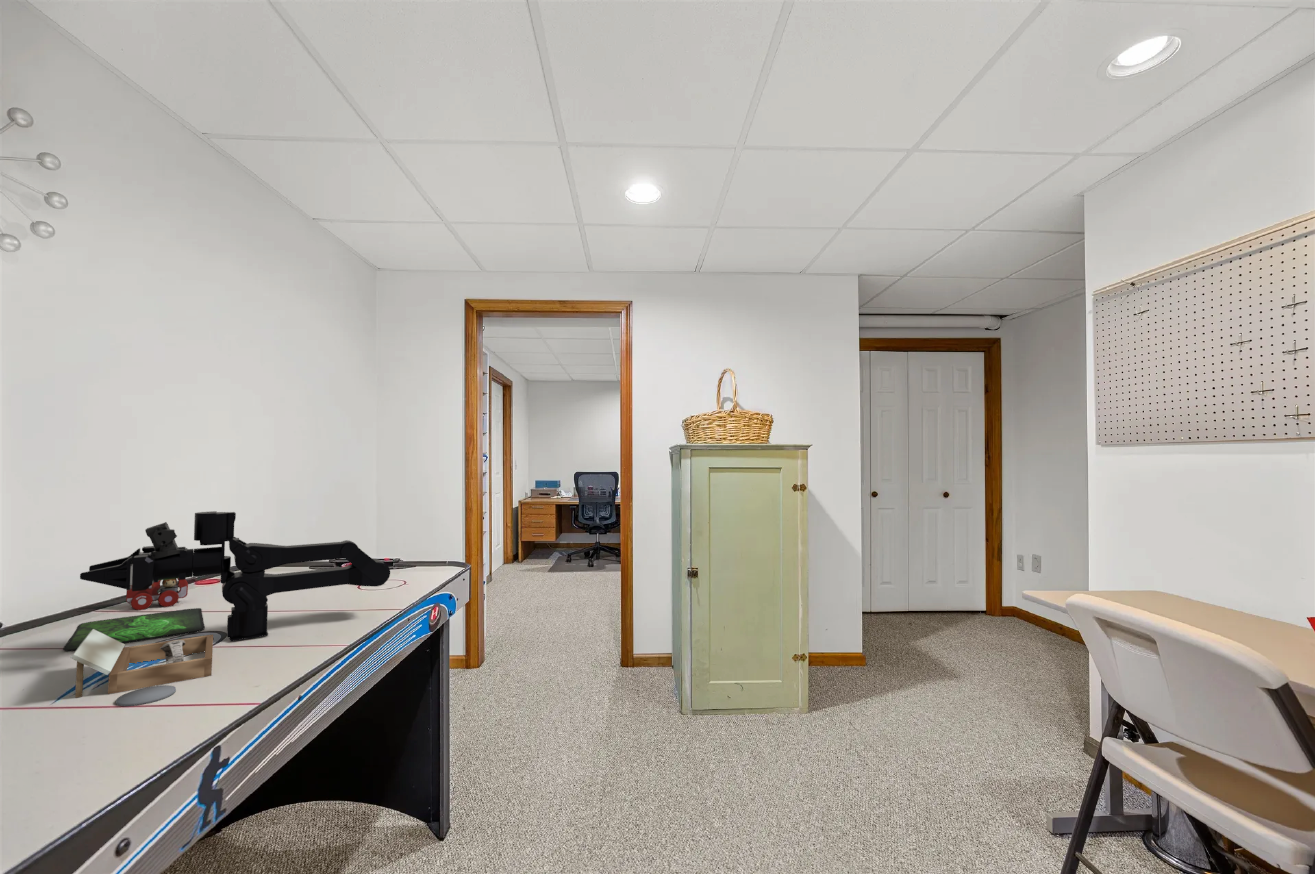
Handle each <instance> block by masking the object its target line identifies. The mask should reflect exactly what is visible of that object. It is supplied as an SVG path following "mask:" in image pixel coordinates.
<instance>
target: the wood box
mask: <svg viewBox="0 0 1315 874" xmlns="http://www.w3.org/2000/svg"><path fill="white" fill-rule="evenodd" d="M174 640H175V639H174ZM174 640H173V639H172V640H165V641H160V642H153V643H146V644H140V645H139V644H138V645H131V646H126V643H121V642H119V641H117V640H115V639H113V638H111V637H109V636H107V635H105V634H103V633H101V632H98V631H96V630H94V629H93V630H92V631H91V632H90V633H89V634H88V635H87V637H86V638H85V639H84V641H83V642H82V643H81V644H80V646H79V647H78V648H77V650H76V651H73V654H72V655H71V656H70V659H71V660H73V661H76V672H75V673H76V675H75V696H74V697H75V699H77V698H82V697H83V689H84V675H85V674H84V670H85V668H84V667H85V666H87V667H89V668H91V669H93V670H95V671H97V672H100V673H102V674H104V675H106V676H108V684H107V685H108V687H107V695H110V694H111V695H112V694H117V693H123V692H127V691H128V692H130V691H135V690H138V689H142V688H144V687H145V688H147V687H152V686H155V685H156V686H161V685H168V684H172V683H178V682H182V681H189V680H194V679H199V678H205V677H211V676H212V674H213V673H212V670H213V669H212V668H213V652H214V651H213V650H214V649H213V647H214V634H207V635H200V636H194V637H193V636H192V637H186V638H179V639H178V640H184V641H185V645H184V646H182V650H183V655H185V656H189V655H188V654H191V655H193V654H192V653H197V654H201V653H200V652H204V651H205V652H204V657H201V658H195V659H189V660H184V661H182V662H176V663H170V664H166V663H165V664H164V663H163V664H160V665H159V664H158V665H151V666H147V667H140V668H134V669H129V666H130V664H129V663H135V664H138V663H137V662H141V663H144V662H143V661H148V662H152V661H153V660H154V661H158V660H157V659H160V660H166V657H165V652H164V651H163V650H161V649H160V647H162V646H163V645H164V644H166V643H168V642H171V641H174ZM125 646H126V647H125ZM151 660H152V661H151ZM127 668H128V669H129V670H128V669H127Z"/></svg>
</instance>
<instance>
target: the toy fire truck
mask: <svg viewBox="0 0 1315 874" xmlns="http://www.w3.org/2000/svg"><path fill="white" fill-rule="evenodd" d="M161 585H162V588H161ZM176 585H177V586H176ZM159 590H160V592H159ZM188 591H189V583H188V581H187V578H186V579H184V580H179V578H177V579H167V580H159V581H158V582H155V583H153V584H152V585H151V586H150V587H149V588H147V589H146V590H141V591H132V588H131V589H130V590H126V595H125V602H126V604H129V605H130V606H131V608H132V609H133V610H135V611H143V610H146V609H148V608H150V606H151V605H152V604H153V602H158V604H159V605H160V606H162V607H163V608H164V607H165V608H168V607H173V606H175V605H176V604H177V603H178V602H179V599H184V598H186V597H187V596H188V594H189V593H188Z"/></svg>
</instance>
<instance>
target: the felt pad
mask: <svg viewBox="0 0 1315 874" xmlns="http://www.w3.org/2000/svg"><path fill="white" fill-rule="evenodd" d="M176 691H177V690H176V686H175V685H169V684H162V685H156V686H151V687H145V688H140V689H134V690H130V691H128V692H127V693H126V692H125V693H124V694H122V695H120V696H118V697H117V699H116V700H115V703H116V705H117V706H121V707H135V706H134V705H136V706H143V705H147V704H151V703H154V702H158V700H159V701H161V699H162V700H163V699H167V698H169V697H170V696H173V695H174V694H175V693H176ZM146 703H147V704H146Z"/></svg>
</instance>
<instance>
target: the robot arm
mask: <svg viewBox="0 0 1315 874" xmlns="http://www.w3.org/2000/svg"><path fill="white" fill-rule="evenodd" d="M236 516H237V513H236V512H235V511H215V510H214V511H201V512H200V511H199V512H195V513H194V522H193V523H194V525H193V526H194V528H193V541H196V542H197V541H199V545H200V546H211V547H201V548H188V547H186V546H178V544H177V542H176V538H177V537H178V535H177V534H176V532H175V529H174V528H173V529H171V527H170V526H169V524H168V523H167V521H165V522H162V523H159V524H156V525H153V526H150V527H147V528H145V534H146V536H147V537H148V538H149V540H150V541H151V544H152V545H149V546H143V547H142V548H141V547H139V548H137V549H136V550H134V552H132V553H131V554H130V555H129V556H127V557H122V558H118V559H113V560H109V561H104V562H100V563H96V564H92V565H90V566H89V568H88V569H89V570H88V571H84V572H83V571H82V572H81V573H80V574H79V579H80V580H81V581H82V580H83V581H87V582H93V583H97V584H101V585H107V586H109V587H113V588H115V587H116V588H119V589H124V590H126V591H127V590H130V589H131V588H132V591H141V590H146V589H147V588H149V587H150V586H151V585H152V584H153V583H155V582H158V581H159V580H161V581H163V580H167V579H177V578H179V580H184V579H186V580H187V578H192V577H193V578H197V577H205V576H206V577H207V576H215V575H216V576H217V575H220V584H221V593H222V597H223V600H224V601H226V602H227V603H229V604H231V605H233V606H232V607H230V608H231V612H230V614H228V615H227V620H226V621H227V623H226V625H227V626H226V637H227V638H229V642H238V641H244V640H251V639H255V638H263V637H267V636H269V631H268V616H269V615H268V612H269V606H268V600H269V599H268V597H269V596H270V595H274V594H278V593H285V592H293V591H295V592H296V591H302V590H310V589H311V590H312V589H319V588H320V589H321V588H326V587H327V588H329V587H336V586H344V585H345V586H346V585H348V586H360V587H380V586H383V585H385V584H386V582H387V581H388V580H389V578H390V576H391V569H390V567H389V565H387V564H386V563H385V562H384V561H381V560H380V559H378V558H372V557H370V556H369V555H368V553H366V552H364V551H363V550H362V549H361V548H359V546H358V545H357V544H356V543H355V542H353V541H352V540H348V539H347V540H342V541H333V542H321V543H310V544H309V543H307V544H295V545H293V544H291V545H279V544H272V543H259V542H249V543H247V542H245V541H243V540H242V539H240V537H236V536H235V521H236ZM226 542H228V548H229V549H228V550H229V551H230V552H231V553H232V555H233V557H234V565H235V567H236V568H237V569H238V570H239V571H236V572H235V571H233V570H232V569H231V568H232V567H231V566H232V565H231V564H232V563H231V562H232V561H231V560H232V558H231V556H230V555H225V554H226V553H225V552H226ZM216 545H221V546H216ZM141 550H142V551H141ZM342 559H343V560H345V561H346V560H347V561H348V563H350V564H348V565H345V566H343V567H342V566H340V567H330V568H324V569H323V568H322V569H321V568H320V569H313V570H302V571H294V572H285V573H284V572H283V573H276V574H275V573H266V571H267V570H269V569H273V568H277V567H280V566H283V565H287V564H290V565H291V564H299V563H309V562H319V561H320V562H322V561H332V560H342ZM265 570H266V571H265ZM177 580H178V579H177Z"/></svg>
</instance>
